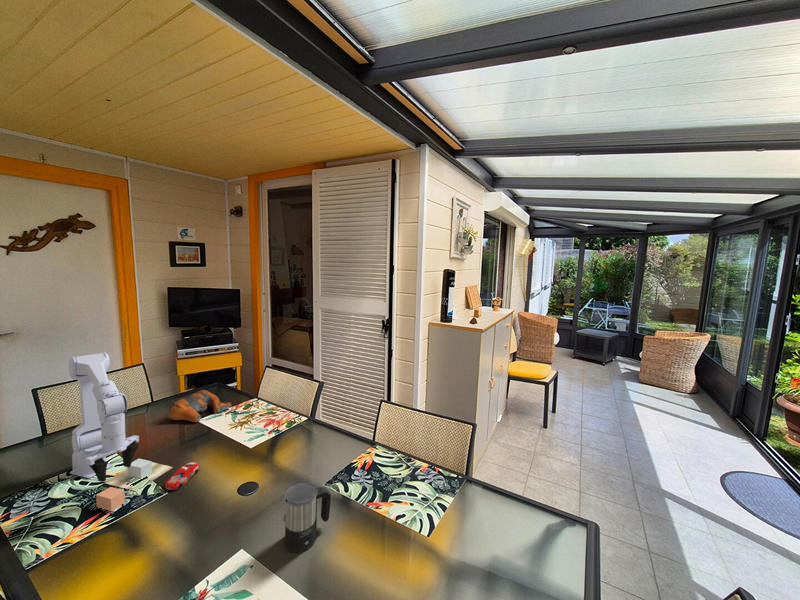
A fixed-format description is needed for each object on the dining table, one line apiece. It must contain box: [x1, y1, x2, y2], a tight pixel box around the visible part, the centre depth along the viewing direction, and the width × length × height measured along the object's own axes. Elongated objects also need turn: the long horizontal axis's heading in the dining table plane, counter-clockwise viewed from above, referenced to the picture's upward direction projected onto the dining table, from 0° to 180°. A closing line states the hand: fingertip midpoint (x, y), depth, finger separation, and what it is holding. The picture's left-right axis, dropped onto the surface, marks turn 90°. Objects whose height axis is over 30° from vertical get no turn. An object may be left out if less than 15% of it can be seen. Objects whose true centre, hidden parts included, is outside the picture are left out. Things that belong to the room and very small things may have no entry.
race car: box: [164, 461, 200, 491], centre depth 119 cm, size 13×5×4 cm, turn 173°
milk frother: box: [283, 482, 332, 553], centre depth 99 cm, size 14×16×15 cm
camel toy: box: [166, 389, 232, 423], centre depth 167 cm, size 25×13×17 cm
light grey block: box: [127, 458, 153, 479], centre depth 119 cm, size 6×4×4 cm, turn 77°
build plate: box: [104, 461, 174, 492], centre depth 120 cm, size 14×14×1 cm
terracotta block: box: [96, 486, 126, 512], centre depth 104 cm, size 6×4×4 cm, turn 77°
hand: (115, 473), depth 106 cm, fingers open, 7 cm apart
